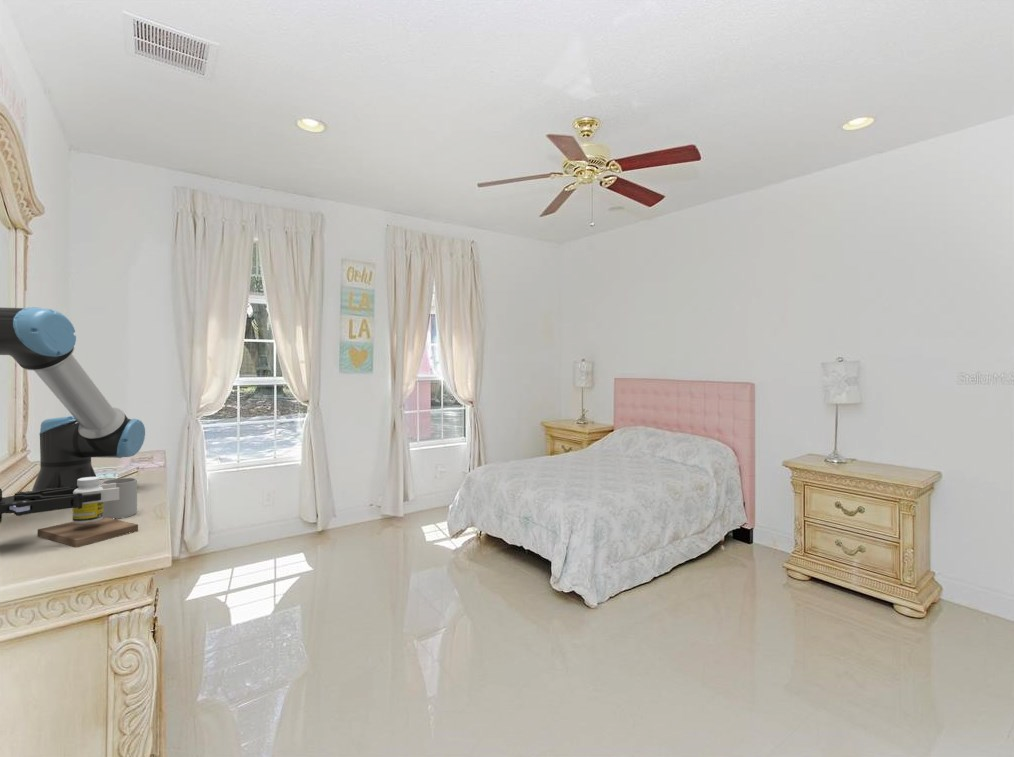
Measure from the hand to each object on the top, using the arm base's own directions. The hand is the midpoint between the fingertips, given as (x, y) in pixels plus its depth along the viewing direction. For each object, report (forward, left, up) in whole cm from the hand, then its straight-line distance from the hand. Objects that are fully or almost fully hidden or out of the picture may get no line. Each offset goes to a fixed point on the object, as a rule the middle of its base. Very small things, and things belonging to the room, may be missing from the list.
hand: (117, 491), depth 118 cm
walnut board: (-2, -5, -9) cm, 10 cm away
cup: (-13, +7, -9) cm, 17 cm away
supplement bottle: (-2, -5, -6) cm, 8 cm away
